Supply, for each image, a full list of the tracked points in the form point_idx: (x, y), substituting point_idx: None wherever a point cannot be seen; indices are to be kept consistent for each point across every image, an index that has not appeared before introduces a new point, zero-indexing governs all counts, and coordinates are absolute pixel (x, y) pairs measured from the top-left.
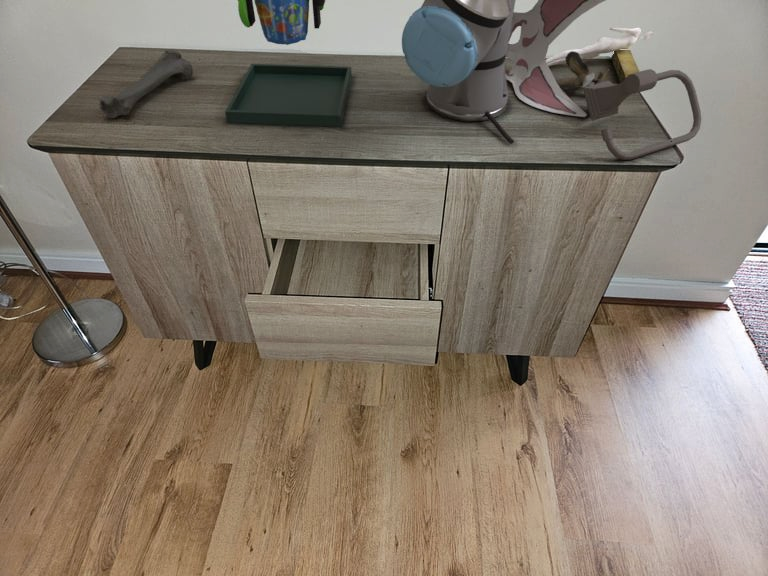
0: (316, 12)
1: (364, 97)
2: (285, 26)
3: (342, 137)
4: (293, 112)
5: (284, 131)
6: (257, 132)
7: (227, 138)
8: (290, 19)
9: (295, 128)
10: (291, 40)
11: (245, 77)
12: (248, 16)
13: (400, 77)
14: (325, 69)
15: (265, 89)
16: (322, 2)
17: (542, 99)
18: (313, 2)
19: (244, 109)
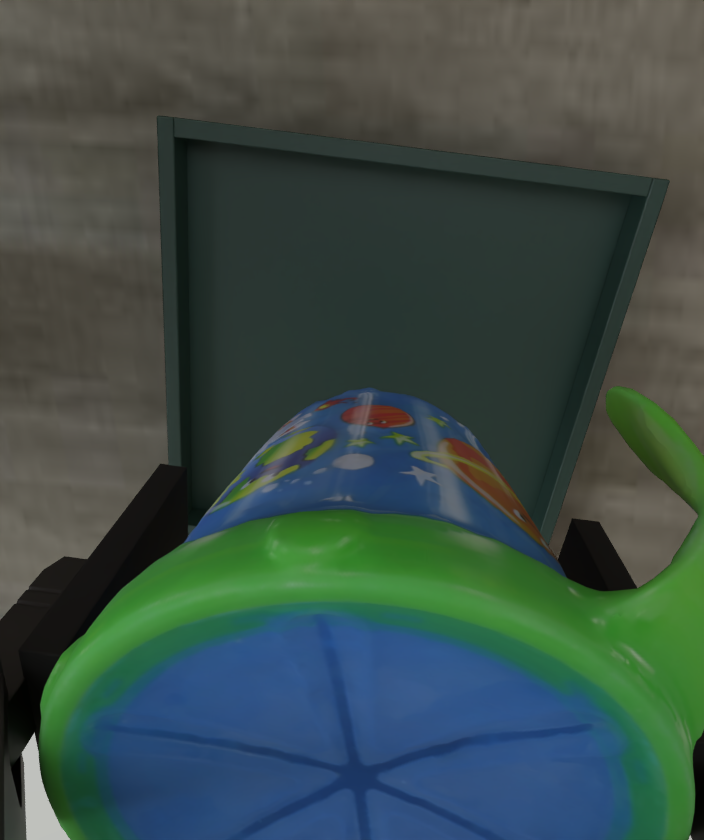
0: (128, 519)
1: (118, 365)
2: (350, 415)
3: (157, 19)
4: (363, 155)
5: (407, 89)
6: (522, 84)
7: (657, 29)
8: (305, 439)
9: (361, 116)
10: (332, 397)
11: (563, 480)
12: (604, 557)
13: (18, 500)
14: None
15: (485, 430)
16: (56, 572)
17: None
18: (114, 563)
19: (572, 270)
